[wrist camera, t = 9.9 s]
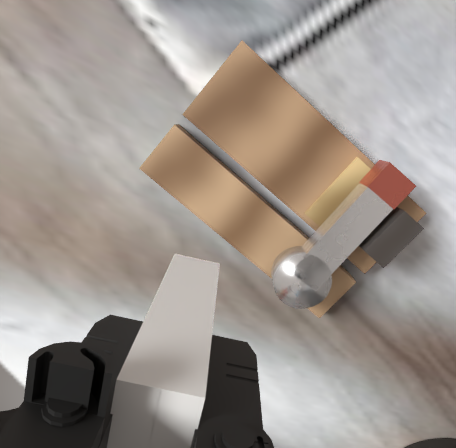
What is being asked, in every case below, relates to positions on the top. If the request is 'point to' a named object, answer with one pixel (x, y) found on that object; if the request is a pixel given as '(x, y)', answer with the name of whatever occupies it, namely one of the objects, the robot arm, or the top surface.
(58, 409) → the robot arm
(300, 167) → the door boards
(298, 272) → the latch arm
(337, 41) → the top surface
